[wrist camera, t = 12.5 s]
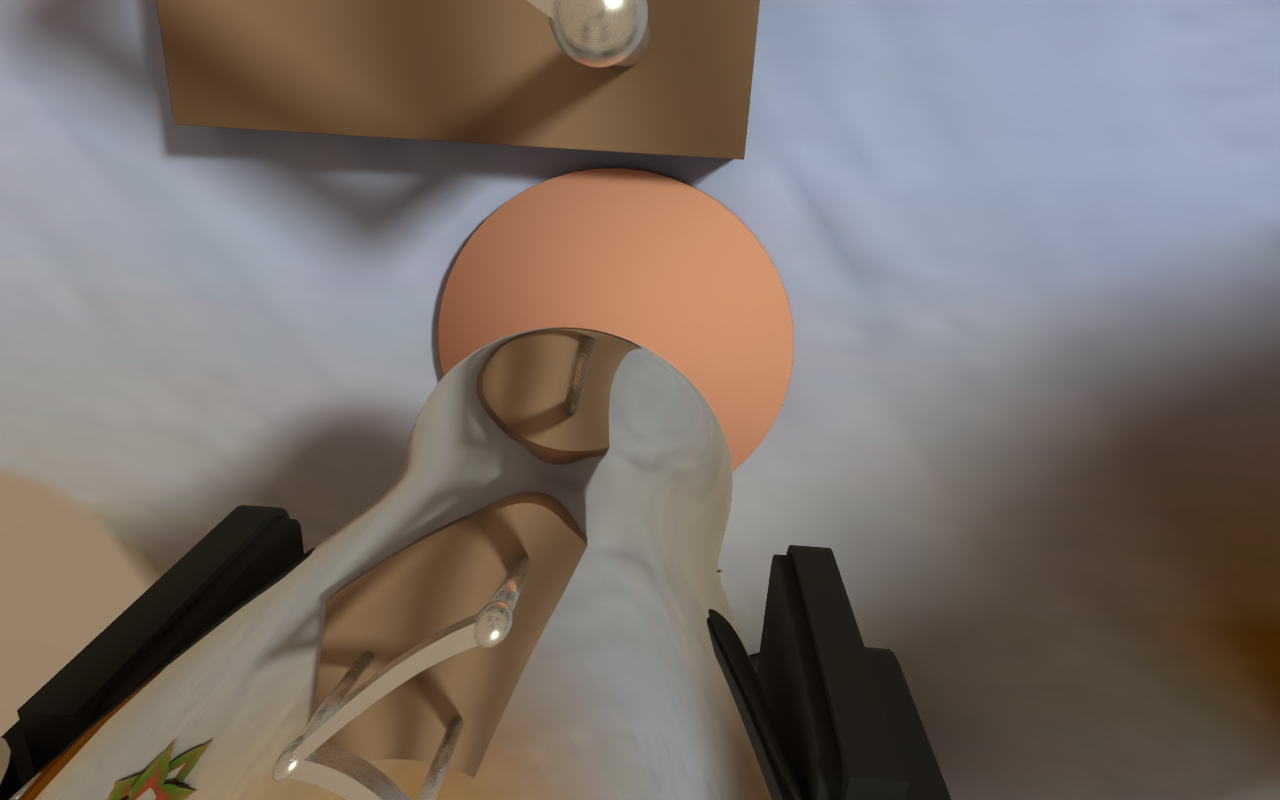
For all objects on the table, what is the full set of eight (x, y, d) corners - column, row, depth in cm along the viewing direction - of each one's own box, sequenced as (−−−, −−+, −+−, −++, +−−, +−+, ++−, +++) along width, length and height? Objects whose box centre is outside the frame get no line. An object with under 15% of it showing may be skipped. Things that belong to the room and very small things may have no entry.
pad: (814, 180, 21) (817, 180, 20) (770, 517, 24) (771, 522, 24) (434, 156, 21) (430, 157, 21) (446, 493, 24) (444, 497, 24)
